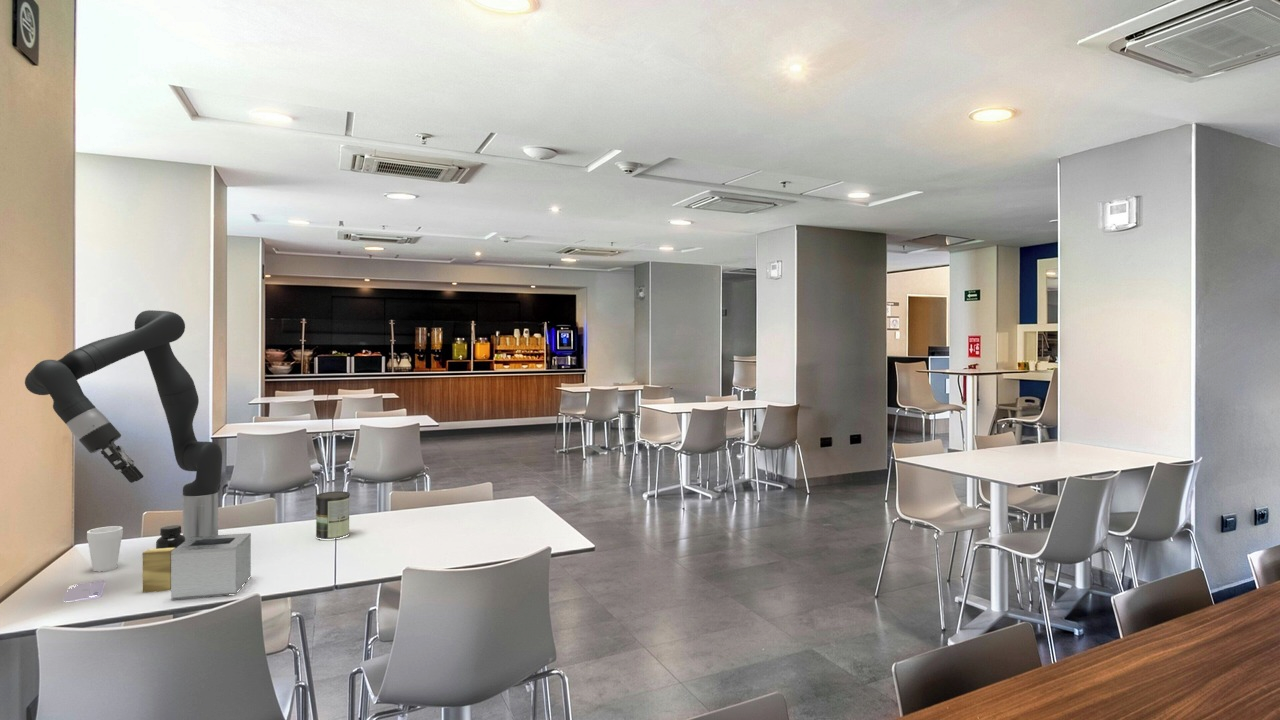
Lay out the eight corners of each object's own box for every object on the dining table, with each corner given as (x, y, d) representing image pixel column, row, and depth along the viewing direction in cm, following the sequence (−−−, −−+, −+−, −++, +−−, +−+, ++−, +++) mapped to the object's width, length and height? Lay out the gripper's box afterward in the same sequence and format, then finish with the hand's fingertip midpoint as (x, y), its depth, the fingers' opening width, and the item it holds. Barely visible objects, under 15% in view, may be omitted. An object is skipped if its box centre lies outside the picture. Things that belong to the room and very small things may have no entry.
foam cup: (107, 563, 195) (107, 525, 195) (130, 565, 193) (130, 526, 193) (79, 572, 187) (79, 532, 187) (102, 574, 185) (102, 534, 185)
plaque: (148, 588, 175) (148, 549, 175) (175, 585, 176) (175, 547, 176) (142, 592, 171) (142, 553, 171) (169, 590, 173) (170, 551, 173)
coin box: (191, 581, 179) (191, 536, 179) (250, 577, 183) (250, 533, 183) (171, 600, 166) (171, 551, 166) (235, 594, 170) (235, 547, 170)
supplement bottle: (191, 566, 192) (191, 524, 192) (172, 574, 186) (172, 530, 185) (169, 565, 193) (169, 523, 193) (149, 573, 186) (149, 529, 186)
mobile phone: (105, 578, 180) (101, 595, 168) (105, 582, 180) (101, 598, 168) (68, 584, 175) (61, 601, 163) (68, 587, 175) (61, 605, 163)
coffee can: (310, 541, 219) (310, 497, 219) (322, 533, 230) (322, 491, 229) (344, 540, 220) (344, 497, 220) (353, 532, 231) (354, 490, 231)
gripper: (104, 420, 168) (149, 471, 171) (113, 422, 180) (155, 469, 183) (72, 439, 164) (118, 491, 168) (83, 439, 176) (126, 488, 180)
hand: (137, 480), depth 176 cm, fingers open, 8 cm apart
